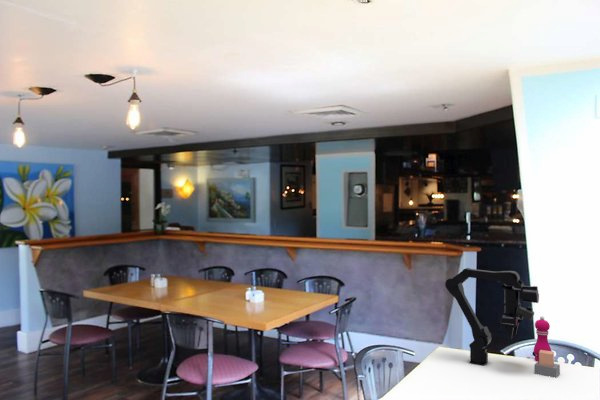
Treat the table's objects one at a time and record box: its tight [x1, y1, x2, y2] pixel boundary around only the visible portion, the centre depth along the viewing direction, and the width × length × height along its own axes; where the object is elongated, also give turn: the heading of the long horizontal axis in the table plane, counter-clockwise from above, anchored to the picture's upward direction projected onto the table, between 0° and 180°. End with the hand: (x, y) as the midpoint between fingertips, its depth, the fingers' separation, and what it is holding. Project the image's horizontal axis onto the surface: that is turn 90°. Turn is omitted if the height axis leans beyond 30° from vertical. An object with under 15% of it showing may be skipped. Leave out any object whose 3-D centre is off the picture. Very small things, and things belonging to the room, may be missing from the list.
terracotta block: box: [539, 350, 555, 367], centre depth 194 cm, size 5×5×5 cm
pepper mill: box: [533, 315, 552, 362], centre depth 212 cm, size 7×7×20 cm
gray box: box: [533, 361, 561, 379], centre depth 194 cm, size 8×7×4 cm
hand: (512, 337), depth 201 cm, fingers open, 9 cm apart
